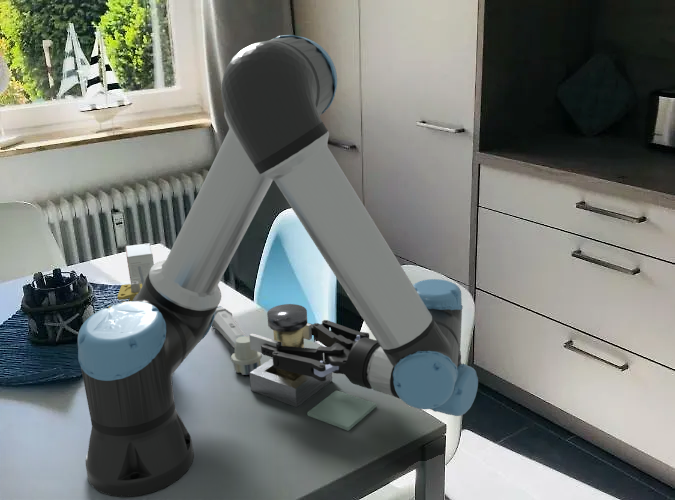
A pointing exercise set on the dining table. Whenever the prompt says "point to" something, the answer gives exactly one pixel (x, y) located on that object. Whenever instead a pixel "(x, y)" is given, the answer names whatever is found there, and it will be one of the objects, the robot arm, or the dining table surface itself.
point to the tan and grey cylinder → (288, 329)
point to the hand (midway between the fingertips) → (266, 332)
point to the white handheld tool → (237, 342)
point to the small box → (139, 261)
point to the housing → (285, 385)
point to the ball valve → (129, 291)
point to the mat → (341, 410)
